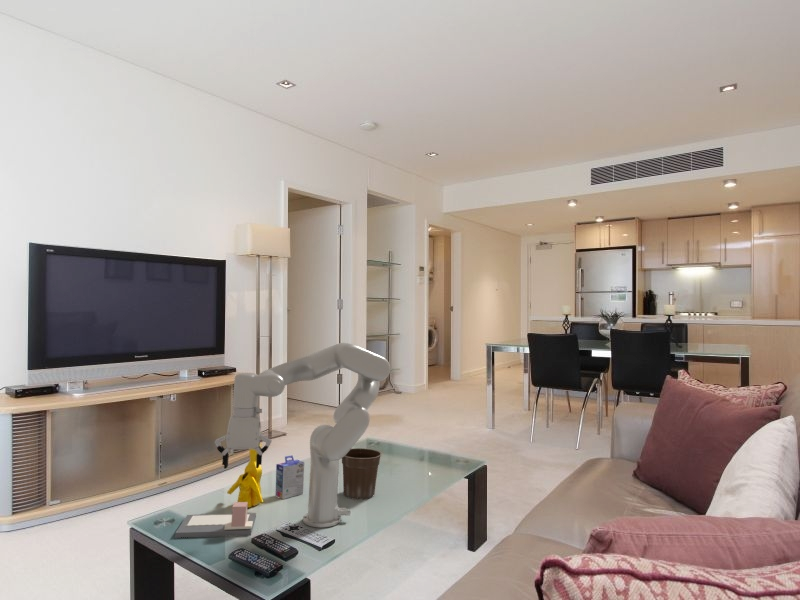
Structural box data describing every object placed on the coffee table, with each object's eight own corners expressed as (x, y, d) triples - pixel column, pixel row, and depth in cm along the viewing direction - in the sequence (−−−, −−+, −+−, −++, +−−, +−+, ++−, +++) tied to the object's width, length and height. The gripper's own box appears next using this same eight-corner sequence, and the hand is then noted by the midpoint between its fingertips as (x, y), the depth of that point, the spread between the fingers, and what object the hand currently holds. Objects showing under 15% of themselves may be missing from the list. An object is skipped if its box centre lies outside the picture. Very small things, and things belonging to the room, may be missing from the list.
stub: (252, 523, 156) (254, 501, 156) (251, 528, 152) (252, 506, 152) (226, 524, 154) (227, 502, 155) (224, 529, 150) (225, 507, 151)
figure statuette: (222, 503, 177) (226, 441, 178) (239, 497, 184) (242, 437, 185) (257, 514, 168) (261, 449, 169) (274, 507, 175) (277, 445, 176)
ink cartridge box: (295, 490, 194) (297, 453, 195) (303, 494, 190) (305, 456, 191) (274, 495, 187) (276, 457, 187) (282, 499, 183) (284, 460, 184)
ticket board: (255, 517, 165) (256, 512, 165) (250, 535, 151) (251, 529, 151) (186, 519, 161) (187, 514, 161) (175, 537, 147) (175, 532, 147)
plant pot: (353, 485, 203) (355, 445, 204) (387, 492, 195) (389, 451, 196) (330, 496, 189) (332, 453, 190) (365, 504, 181) (367, 460, 182)
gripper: (273, 410, 160) (271, 463, 159) (218, 410, 157) (215, 464, 156) (272, 414, 153) (269, 470, 152) (214, 414, 150) (210, 471, 149)
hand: (241, 467), depth 154 cm, fingers open, 9 cm apart
